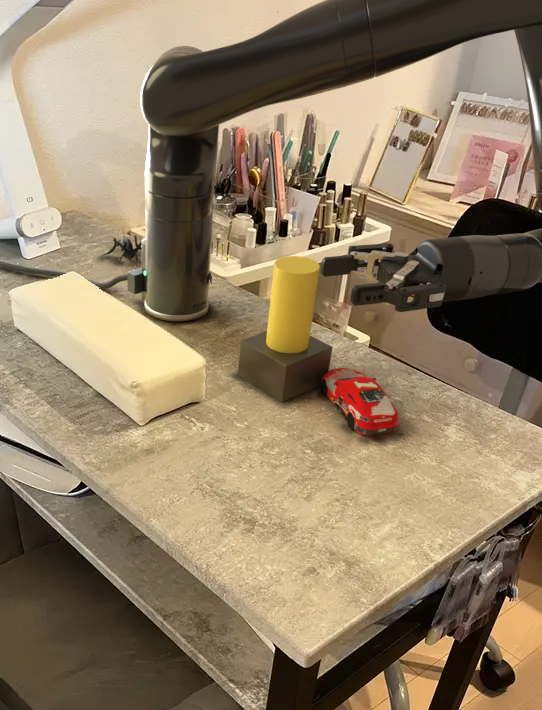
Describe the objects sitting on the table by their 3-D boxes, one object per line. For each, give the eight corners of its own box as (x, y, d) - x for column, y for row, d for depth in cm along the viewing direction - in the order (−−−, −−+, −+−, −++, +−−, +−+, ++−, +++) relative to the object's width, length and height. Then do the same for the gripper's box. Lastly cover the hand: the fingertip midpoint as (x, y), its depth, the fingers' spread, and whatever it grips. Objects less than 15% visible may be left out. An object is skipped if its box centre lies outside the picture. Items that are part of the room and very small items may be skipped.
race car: (314, 384, 97) (318, 355, 94) (354, 380, 98) (359, 351, 95) (356, 442, 87) (362, 412, 84) (400, 437, 88) (408, 407, 85)
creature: (96, 260, 129) (110, 267, 123) (93, 227, 127) (107, 232, 120) (140, 254, 132) (156, 261, 125) (138, 221, 129) (154, 226, 123)
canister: (257, 341, 95) (264, 262, 88) (287, 330, 97) (296, 252, 91) (287, 357, 91) (297, 277, 85) (317, 345, 94) (329, 266, 88)
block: (237, 375, 98) (240, 340, 95) (282, 357, 102) (286, 323, 99) (281, 402, 93) (286, 365, 90) (327, 382, 97) (333, 346, 94)
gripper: (435, 218, 97) (316, 228, 94) (501, 260, 86) (369, 274, 83) (422, 275, 102) (308, 287, 98) (483, 322, 91) (358, 337, 88)
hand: (336, 281), depth 91 cm, fingers open, 8 cm apart
